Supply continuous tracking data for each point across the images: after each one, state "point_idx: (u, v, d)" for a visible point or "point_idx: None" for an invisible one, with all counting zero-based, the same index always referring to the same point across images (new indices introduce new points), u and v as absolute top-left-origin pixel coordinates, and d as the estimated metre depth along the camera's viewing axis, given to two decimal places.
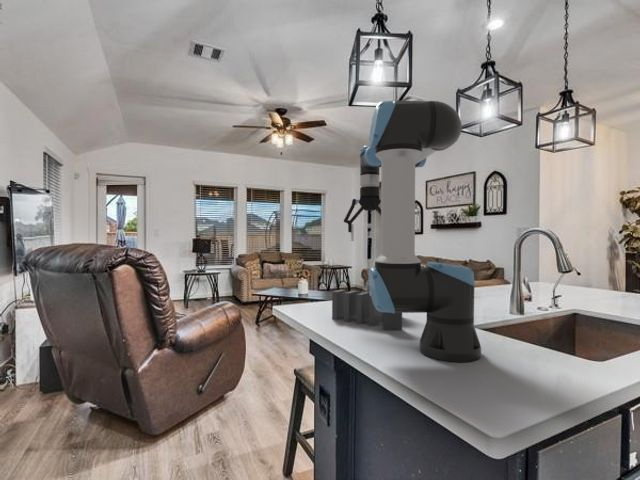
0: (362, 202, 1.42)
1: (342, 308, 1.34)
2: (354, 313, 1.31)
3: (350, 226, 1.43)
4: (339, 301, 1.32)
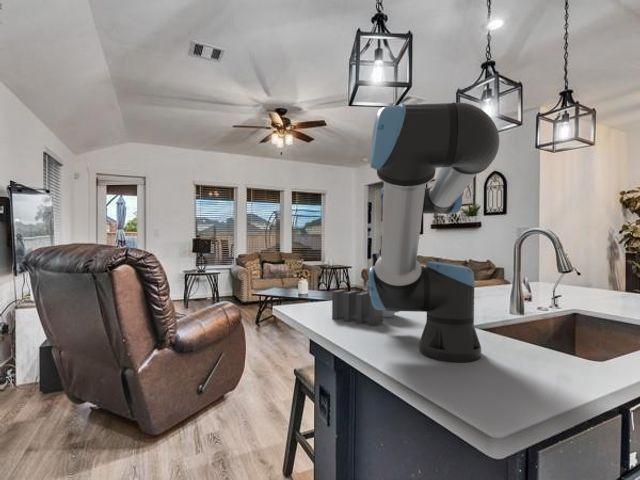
0: None
1: (342, 308, 1.34)
2: (354, 313, 1.31)
3: None
4: (339, 301, 1.32)
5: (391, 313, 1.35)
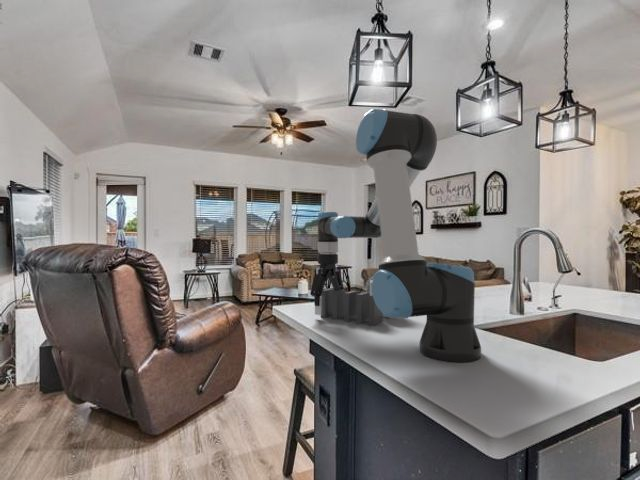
0: (325, 270, 1.33)
1: (342, 308, 1.34)
2: (354, 313, 1.31)
3: (318, 299, 1.31)
4: (339, 301, 1.32)
5: None
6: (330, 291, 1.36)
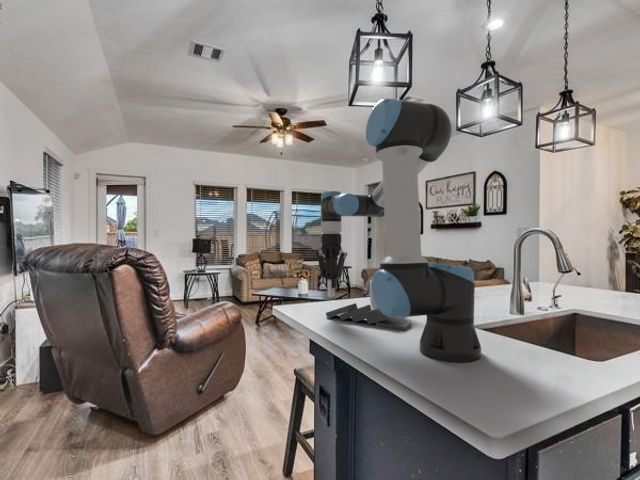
0: (323, 249, 1.36)
1: None
2: None
3: None
4: None
5: None
6: None
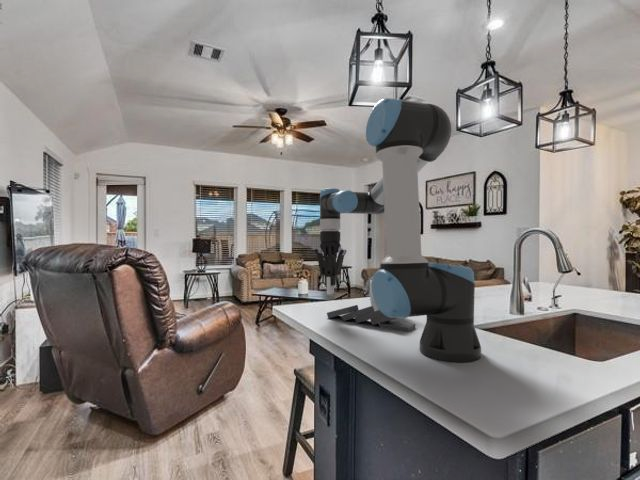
0: (322, 247, 1.36)
1: None
2: None
3: (326, 279, 1.36)
4: None
5: None
6: (353, 311, 1.30)
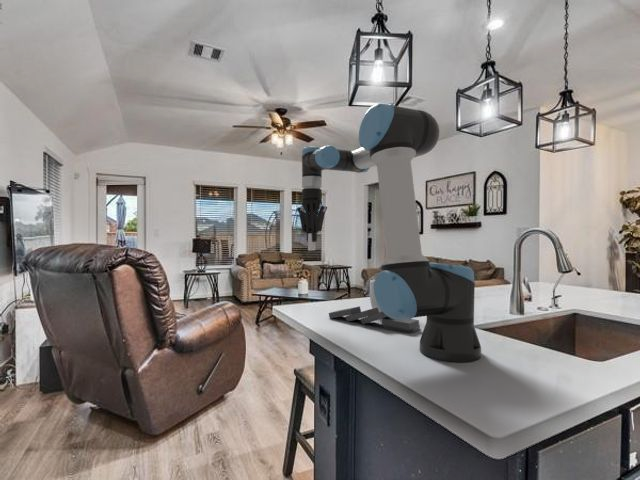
0: (304, 204, 1.40)
1: None
2: None
3: None
4: None
5: None
6: None
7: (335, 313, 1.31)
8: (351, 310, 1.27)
